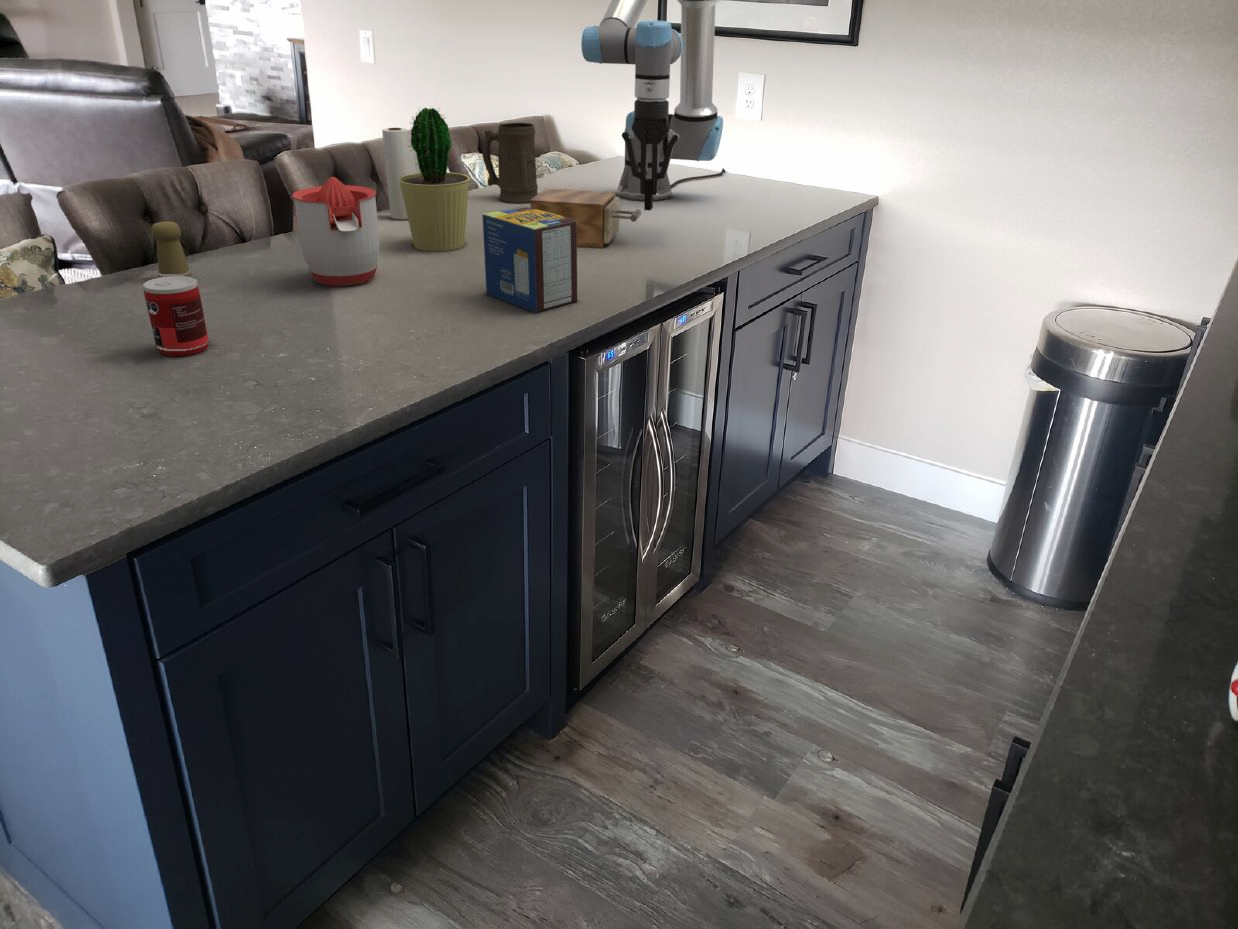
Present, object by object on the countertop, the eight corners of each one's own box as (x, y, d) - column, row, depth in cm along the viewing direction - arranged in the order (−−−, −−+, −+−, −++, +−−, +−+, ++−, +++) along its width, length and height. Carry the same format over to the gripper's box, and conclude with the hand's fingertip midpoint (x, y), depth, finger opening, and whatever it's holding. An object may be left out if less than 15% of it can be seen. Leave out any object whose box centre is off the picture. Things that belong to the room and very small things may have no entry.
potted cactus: (487, 245, 212) (480, 105, 198) (432, 257, 202) (421, 110, 188) (445, 233, 221) (436, 98, 207) (391, 244, 211) (377, 103, 197)
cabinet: (613, 233, 224) (614, 192, 219) (602, 247, 212) (602, 204, 207) (546, 229, 226) (545, 188, 222) (531, 242, 214) (530, 199, 210)
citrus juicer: (314, 297, 176) (300, 188, 166) (297, 273, 189) (282, 172, 180) (396, 287, 182) (386, 182, 173) (373, 264, 196) (363, 166, 186)
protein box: (526, 283, 186) (524, 205, 179) (578, 301, 176) (578, 219, 169) (484, 294, 179) (480, 212, 172) (536, 313, 170) (534, 228, 162)
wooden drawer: (643, 232, 222) (644, 198, 218) (633, 245, 211) (634, 209, 207) (556, 226, 225) (555, 193, 221) (542, 239, 214) (541, 204, 210)
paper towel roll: (385, 218, 233) (376, 129, 223) (399, 213, 238) (391, 126, 228) (410, 221, 231) (402, 131, 221) (423, 216, 236) (416, 128, 226)
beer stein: (544, 195, 261) (537, 120, 251) (537, 203, 251) (530, 125, 242) (490, 197, 262) (482, 122, 253) (482, 205, 253) (473, 128, 244)
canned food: (166, 340, 153) (152, 275, 148) (216, 340, 154) (203, 275, 149) (149, 357, 147) (134, 289, 142) (201, 356, 147) (188, 289, 142)
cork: (198, 275, 187) (188, 220, 181) (177, 283, 181) (165, 227, 176) (174, 272, 188) (163, 217, 183) (152, 280, 183) (139, 224, 178)
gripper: (618, 100, 199) (617, 210, 211) (678, 102, 197) (674, 214, 209) (625, 95, 206) (623, 203, 217) (683, 98, 204) (678, 206, 215)
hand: (648, 208), depth 213 cm, fingers closed
